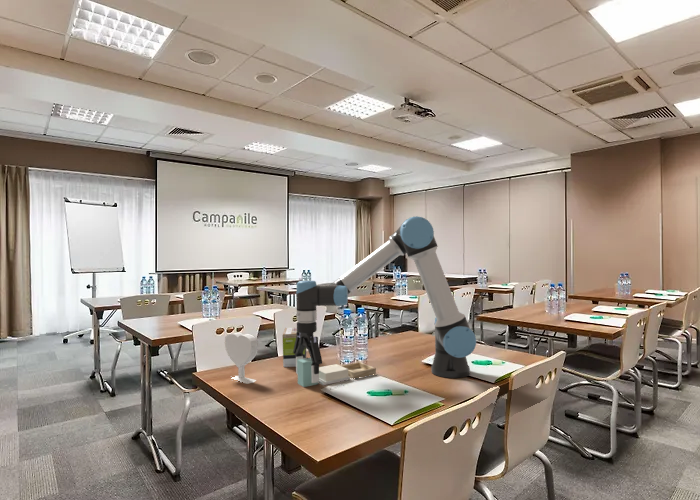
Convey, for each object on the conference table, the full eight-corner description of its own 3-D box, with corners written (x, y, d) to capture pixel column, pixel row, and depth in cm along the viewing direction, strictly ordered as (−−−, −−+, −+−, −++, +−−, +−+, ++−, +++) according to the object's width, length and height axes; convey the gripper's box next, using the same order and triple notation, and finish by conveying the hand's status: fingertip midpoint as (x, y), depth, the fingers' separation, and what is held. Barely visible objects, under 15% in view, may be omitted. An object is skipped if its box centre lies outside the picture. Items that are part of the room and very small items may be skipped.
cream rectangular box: (350, 379, 156) (349, 369, 156) (322, 385, 150) (322, 374, 150) (337, 373, 165) (337, 363, 165) (310, 378, 159) (310, 368, 159)
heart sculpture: (260, 381, 157) (259, 334, 157) (250, 384, 153) (249, 337, 153) (233, 374, 166) (233, 331, 166) (223, 378, 161) (223, 333, 162)
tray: (375, 374, 162) (375, 368, 162) (353, 379, 156) (353, 372, 156) (360, 368, 172) (360, 362, 172) (338, 372, 166) (338, 366, 166)
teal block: (317, 384, 152) (317, 360, 152) (303, 387, 149) (302, 362, 149) (311, 380, 156) (311, 357, 156) (297, 383, 153) (297, 359, 153)
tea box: (285, 358, 190) (284, 327, 190) (306, 357, 191) (306, 326, 191) (282, 367, 175) (282, 333, 176) (305, 366, 176) (305, 332, 176)
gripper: (284, 318, 161) (285, 371, 161) (312, 327, 140) (313, 388, 140) (301, 316, 165) (302, 368, 165) (331, 325, 144) (332, 384, 144)
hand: (307, 377), depth 152 cm, fingers open, 13 cm apart
